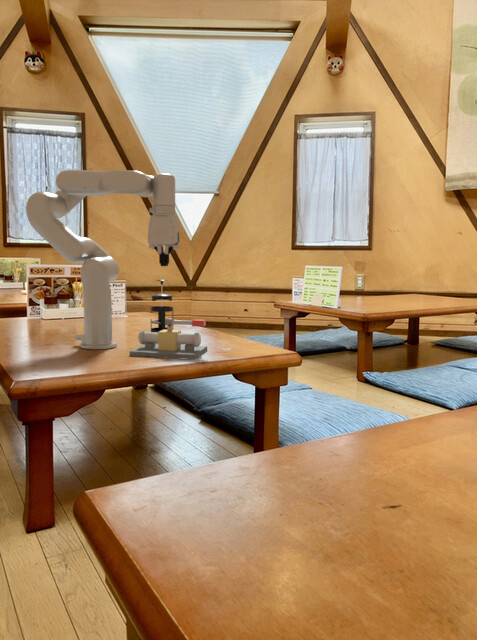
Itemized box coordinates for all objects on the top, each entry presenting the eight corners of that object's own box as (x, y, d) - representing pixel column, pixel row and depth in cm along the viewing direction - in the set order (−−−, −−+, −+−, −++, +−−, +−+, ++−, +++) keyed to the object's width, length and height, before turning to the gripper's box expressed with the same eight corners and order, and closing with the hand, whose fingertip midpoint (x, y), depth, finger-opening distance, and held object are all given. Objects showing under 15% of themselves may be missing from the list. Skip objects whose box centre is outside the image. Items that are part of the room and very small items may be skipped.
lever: (164, 325, 175) (164, 319, 175) (166, 324, 178) (166, 318, 178) (203, 326, 174) (203, 320, 173) (205, 325, 177) (205, 319, 176)
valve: (129, 355, 172) (129, 327, 171) (147, 347, 188) (147, 321, 187) (194, 359, 168) (194, 330, 167) (207, 350, 184) (207, 324, 182)
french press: (175, 339, 206) (175, 280, 203) (151, 339, 204) (150, 280, 201) (171, 334, 218) (171, 278, 215) (148, 334, 215) (148, 278, 212)
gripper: (139, 210, 176) (139, 265, 179) (181, 210, 173) (181, 266, 176) (147, 212, 184) (147, 265, 186) (188, 212, 181) (188, 266, 183)
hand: (164, 265), depth 181 cm, fingers closed
